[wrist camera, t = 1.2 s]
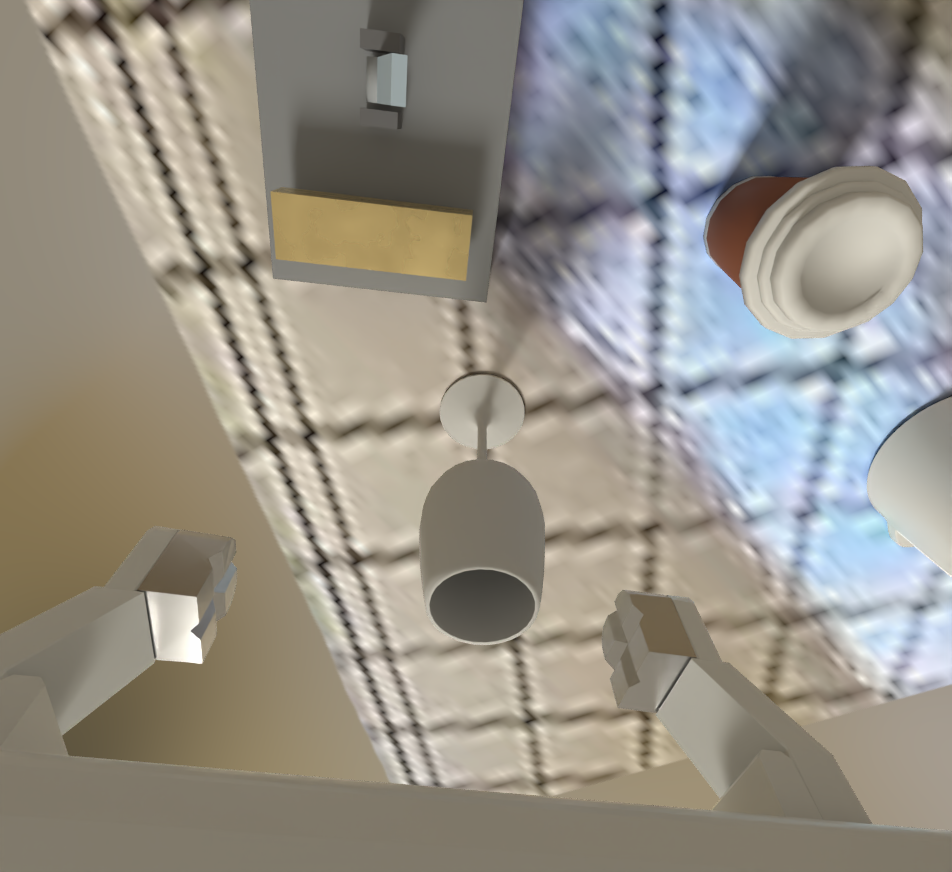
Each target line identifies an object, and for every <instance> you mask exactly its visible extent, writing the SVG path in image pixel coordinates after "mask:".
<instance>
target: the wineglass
mask: <svg viewBox="0 0 952 872" xmlns="http://www.w3.org/2000/svg"><path fill="white" fill-rule="evenodd" d="M440 419H441V422H442V425H443V427H444V429H445V431H446V432H447V433H448V435H449V436H450V437H451V438H452V439H454V440H455V441H456V442H457V443H459V444H461V445H463V446H465V447H469V448H473V449H477V460H470V461H466V462H463V463H460V464H458V465H455V466H454V467H452V468H450V469H449V470H447V471H446V472H445V473H444V474H443V475H442V476H441V477H440V478H439V479H438V480H437V481H436V482H435V484H434V485H433V486H432V487H431V489H430V491H429V493H428V495H427V497H426V500H425V503H424V506H423V511H422V517H421V523H420V535H419V544H420V569H421V580H422V588H423V596H424V602H425V607H426V613H427V616H428V618H429V619H430V621H431V623H432V624H433V625H434V626H435V627H436V628H437V629H438V630H439V631H440V632H441V633H443V634H444V635H446V636H448V637H449V638H452V639H454V640H457V641H459V642H464V643H469V644H477V645H489V644H497V643H501V642H505V641H508V640H511V639H513V638H515V637H517V636H519V635H521V634H522V633H524V632H525V631H526V630H527V629H529V628H530V627H531V625H532V624H533V623H534V621H535V620H536V617H537V615H538V612H539V608H540V602H541V596H542V588H543V577H544V558H545V523H544V517H543V512H542V509H541V506H540V503H539V499H538V497H537V494H536V491H535V490H534V488H533V487H532V485H531V484H530V483H529V481H528V480H527V479H526V478H525V477H524V476H523V475H522V474H520V473H519V472H518V471H517V470H516V469H515V468H513V467H511V466H509V465H507V464H505V463H502V462H498V461H494V460H487V449H491V448H496V447H498V446H501V445H504V444H505V443H507V442H508V441H510V440H511V439H512V438H513V437H514V436H515V435H516V434H517V433H518V431H519V430H520V428H521V426H522V424H523V420H524V404H523V400H522V397H521V395H520V394H519V392H518V391H517V389H516V388H515V387H514V386H513V385H512V384H511V383H509V382H508V381H506V380H504V379H502V378H501V377H498V376H494V375H491V374H475V375H469V376H467V377H464V378H462V379H460V380H458V381H457V382H455V383H454V384H453V385H451V387H450V388H449V389H448V390H447V391H446V393H445V394H444V397H443V399H442V401H441V406H440Z"/></svg>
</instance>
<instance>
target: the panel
mask: <svg viewBox="0 0 952 872" xmlns="http://www.w3.org/2000/svg"><path fill="white" fill-rule="evenodd" d="M523 1H524V0H250V11H251V23H252V35H253V47H254V59H255V70H256V82H257V94H258V106H259V118H260V129H261V141H262V153H263V165H264V177H265V188H266V200H267V212H268V224H269V235H270V247H271V259H272V271H273V279H282V280H291V281H300V282H309V283H318V284H326V285H335V286H344V287H353V288H362V289H371V290H380V291H389V292H398V293H407V294H416V295H424V296H433V297H442V298H451V299H460V300H469V301H478V302H487V294H488V286H489V278H490V269H491V261H492V253H493V245H494V237H495V229H496V221H497V212H498V204H499V196H500V188H501V180H502V172H503V164H504V155H505V147H506V139H507V131H508V123H509V115H510V107H511V98H512V90H513V82H514V74H515V66H516V58H517V50H518V41H519V33H520V25H521V17H522V9H523ZM390 53H396V54H402V55H408V57H407V84H406V107H400V106H392V105H385V104H379V103H372V102H366V65H367V56H371V57H380V56H383V55H386V54H390ZM281 187H286V188H294V189H303V190H311V191H319V192H328V193H336V194H344V195H353V196H361V197H369V198H377V199H386V200H394V201H402V202H411V203H419V204H427V205H435V206H444V207H452V208H460V209H469V210H473V216H472V226H471V236H470V246H469V256H468V266H467V276H466V281H462V280H453V279H445V278H436V277H427V276H418V275H410V274H401V273H392V272H383V271H375V270H366V269H357V268H348V267H339V266H331V265H322V264H313V263H304V262H296V261H287V260H278V259H276V254H275V241H274V229H273V217H272V204H271V192H270V191H273V190H276V189H278V188H281Z"/></svg>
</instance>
